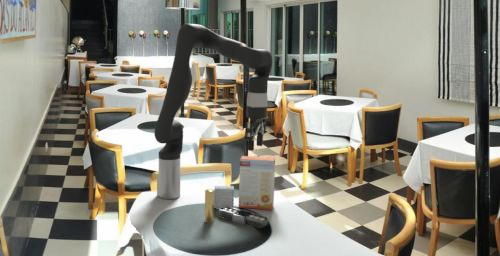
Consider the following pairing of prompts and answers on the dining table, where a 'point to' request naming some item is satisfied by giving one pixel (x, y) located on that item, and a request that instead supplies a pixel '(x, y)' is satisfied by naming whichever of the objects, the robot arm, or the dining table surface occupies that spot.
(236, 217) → the link seat
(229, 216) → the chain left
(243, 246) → the dining table surface
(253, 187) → the cracker box
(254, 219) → the chain right
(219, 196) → the medicine box
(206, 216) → the link pin
